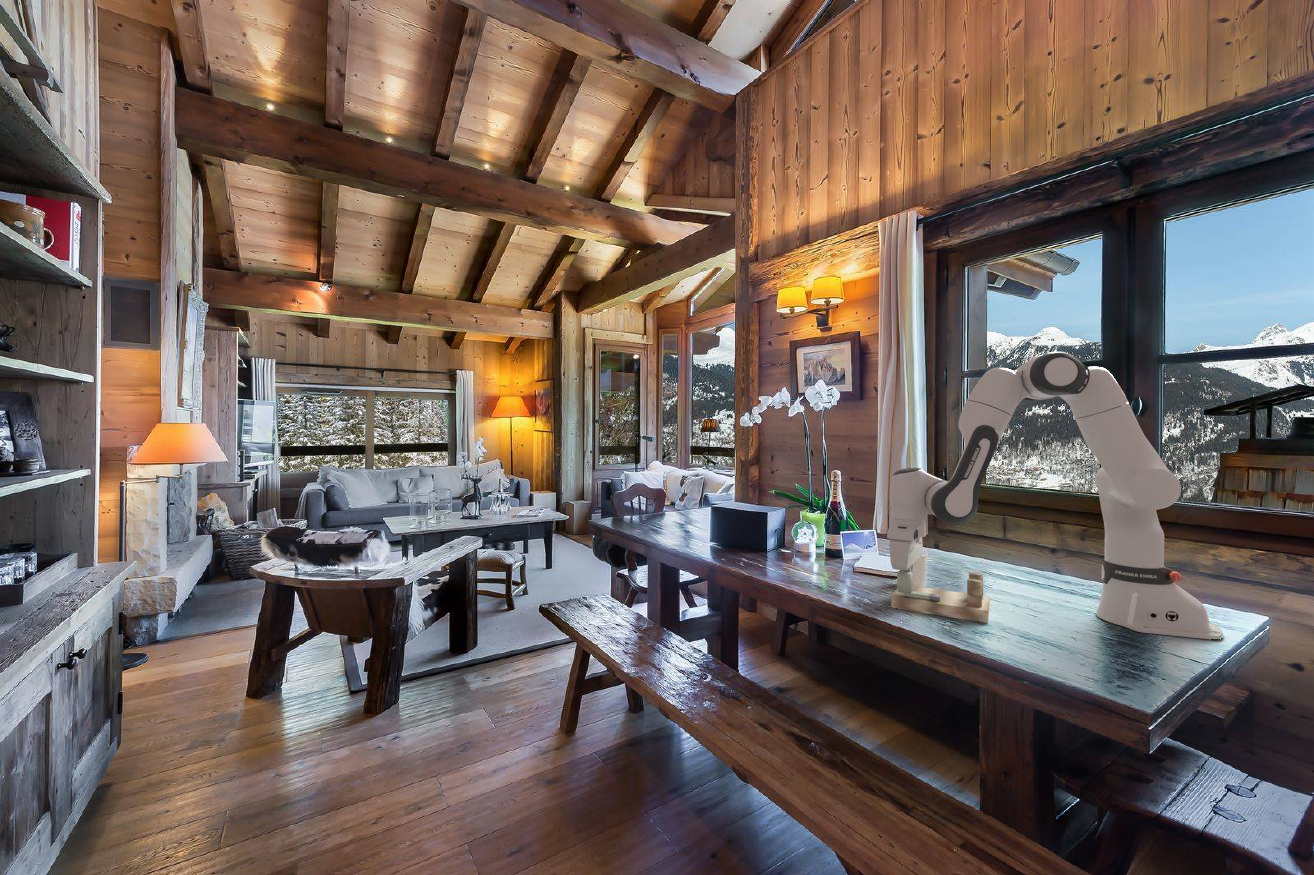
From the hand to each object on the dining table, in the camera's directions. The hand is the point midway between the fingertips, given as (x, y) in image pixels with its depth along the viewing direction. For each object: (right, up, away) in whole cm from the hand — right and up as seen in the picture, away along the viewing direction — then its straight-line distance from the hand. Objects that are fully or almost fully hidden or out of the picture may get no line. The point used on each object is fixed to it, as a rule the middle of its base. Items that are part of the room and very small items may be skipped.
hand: (907, 579), depth 149 cm
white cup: (+9, -7, +17) cm, 21 cm away
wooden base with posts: (+7, -7, -3) cm, 10 cm away
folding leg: (+1, -3, -4) cm, 6 cm away
